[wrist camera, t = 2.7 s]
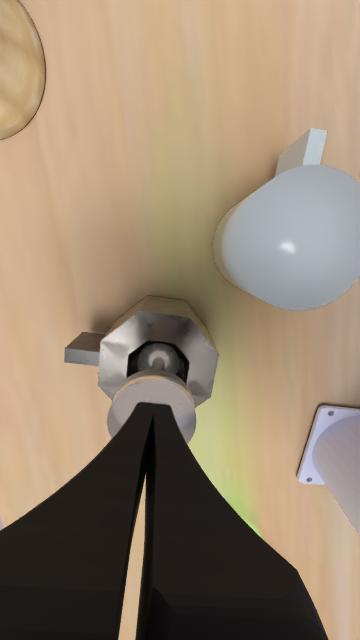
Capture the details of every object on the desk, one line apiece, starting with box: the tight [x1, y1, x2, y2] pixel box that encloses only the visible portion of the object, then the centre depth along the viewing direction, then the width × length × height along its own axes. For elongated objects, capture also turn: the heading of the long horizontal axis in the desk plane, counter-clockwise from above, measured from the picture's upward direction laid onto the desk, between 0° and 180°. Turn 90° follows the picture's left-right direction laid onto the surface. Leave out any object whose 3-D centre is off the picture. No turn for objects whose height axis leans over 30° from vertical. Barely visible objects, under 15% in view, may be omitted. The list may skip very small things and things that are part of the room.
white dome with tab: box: [213, 128, 360, 311], centre depth 15 cm, size 6×8×7 cm
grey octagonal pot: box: [64, 296, 219, 408], centre depth 17 cm, size 9×7×5 cm
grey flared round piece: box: [107, 341, 196, 444], centre depth 13 cm, size 4×4×6 cm
